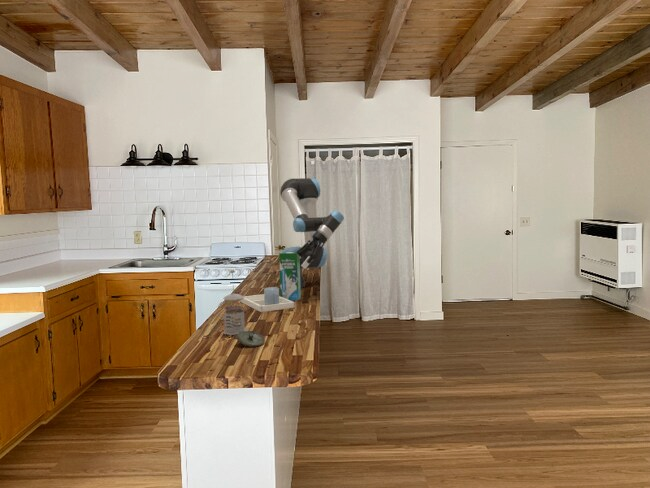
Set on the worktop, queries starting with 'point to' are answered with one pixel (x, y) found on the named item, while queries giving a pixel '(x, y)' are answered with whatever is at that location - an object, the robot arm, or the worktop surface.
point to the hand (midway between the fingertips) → (297, 266)
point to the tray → (259, 305)
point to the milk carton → (290, 275)
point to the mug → (271, 295)
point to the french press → (229, 325)
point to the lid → (250, 338)
